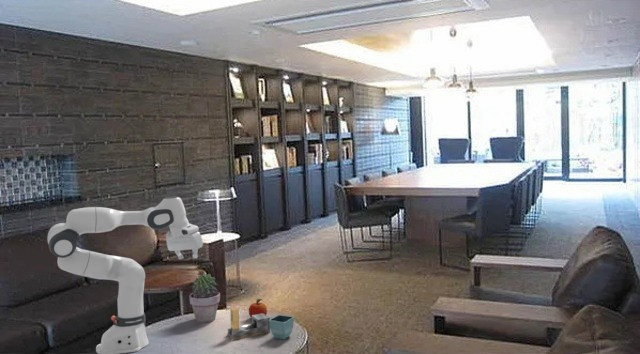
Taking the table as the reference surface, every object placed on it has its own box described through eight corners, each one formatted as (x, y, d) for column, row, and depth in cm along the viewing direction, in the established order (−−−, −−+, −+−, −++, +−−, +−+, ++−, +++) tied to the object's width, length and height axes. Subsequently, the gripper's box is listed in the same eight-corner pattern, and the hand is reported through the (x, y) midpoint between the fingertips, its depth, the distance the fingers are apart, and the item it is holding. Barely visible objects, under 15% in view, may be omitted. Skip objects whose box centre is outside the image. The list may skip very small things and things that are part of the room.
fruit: (244, 319, 286) (244, 300, 285) (257, 314, 293) (257, 296, 293) (258, 323, 280) (257, 303, 279) (271, 318, 287) (270, 299, 287)
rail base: (233, 339, 257) (232, 324, 256) (227, 334, 264) (227, 319, 263) (270, 332, 266) (269, 317, 265) (263, 327, 273) (263, 313, 272)
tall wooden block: (233, 335, 259) (232, 310, 259) (231, 333, 262) (230, 308, 261) (253, 331, 264) (252, 307, 264) (250, 329, 267) (250, 305, 266)
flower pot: (268, 339, 257) (268, 319, 257) (278, 332, 265) (278, 314, 264) (285, 341, 253) (284, 322, 253) (294, 335, 261) (294, 316, 260)
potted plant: (206, 328, 274) (204, 278, 272) (180, 321, 285) (178, 273, 284) (232, 318, 288) (231, 271, 286) (207, 312, 300) (205, 266, 298)
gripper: (160, 233, 258) (168, 262, 260) (191, 230, 247) (199, 259, 249) (170, 229, 264) (177, 257, 265) (200, 226, 252) (208, 255, 254)
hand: (188, 258), depth 257 cm, fingers open, 8 cm apart
